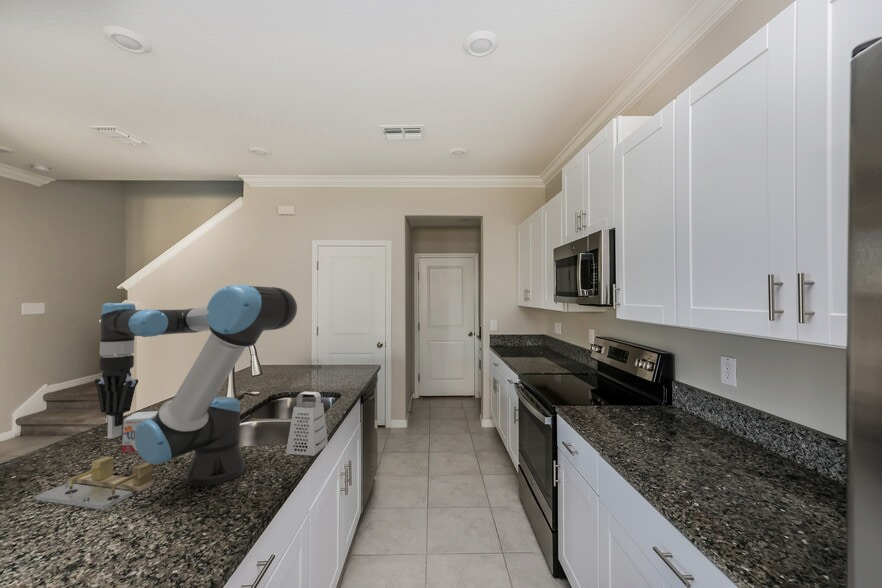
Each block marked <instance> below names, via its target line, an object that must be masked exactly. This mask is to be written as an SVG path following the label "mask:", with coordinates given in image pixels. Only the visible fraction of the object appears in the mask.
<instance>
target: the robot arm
mask: <svg viewBox="0 0 882 588" xmlns="http://www.w3.org/2000/svg"><path fill="white" fill-rule="evenodd" d="M297 311H298V304H297V301H296V299H295V297H294V296H293V295H292V294H291V293H290V292H289V291H287V290H286V289H283V288H281V287H276V286H272V287H271V286H259V285H258V286H254V285H249V284H231V285H226V286H224V287H222V288H219V289H218V290H217V291H216V292H215V293H214V294H213V295H212V296H211V298H210V299H209V300H208V304H207V305H206V306H200V307H194V308H186V309H137V308H136V304H135V303H133V302H132V303H131V302H129V303H128V302H118V303H117V302H106V303H104V304H102V306H101V314H100V333H99V335H100V337H99V338H100V341H99V355H100V358H99V361H98V362H99V363H98V364H99V371H102V374H101V377H100V378H97V379H94V384H95V386H96V389H97V390H96V391H97V396H98V397H97V398H98V403H99V408H100V412H101V413H105V415H106V416H107V417H106V426H107V436H106V437H107V439H109V440H113V439H115V438H118V437H121V436H122V437H123V423H124V414H125V413H127V412H130V411H131V407H132V403H133V400H134V399H133V398H134V394H135V390H136V388H137V385H138V383H139V379H138V378H136V379H134V378H132V373H131V369H132V368H134V365H135V356H134V355H133V354H134V353H135V338H136V337H143V338H146V337H157V336H162V335H163V336H164V335H165V336H166V335H174V334H177V335H178V334H196V333H200V332H201V333H202V332H205V331H206V332H207V331H209V333H211V334H210V335H209V337H208V339H207V340H206V341H205V344H204V345H203V347H202V349H201V351H200V352H199V354H198V356H197V357H196V359H195V361H194V363H193V364H192V366H191V368H190V370H189V371H188V372H187V374H186V376H185V378H184V379H183V382H182V383H181V385H180V386H179V388H178V390H177V392H176V394H175V395H174V397H173V398H172V399H170V400H167V401H166V402H164V403H163V404H162V405H161V406H160V407H159V409H158V413H157V414H156V416H155V417H154V418H152V419H146V420H145V421H143V422H141V423H140V424H139V425H138V426H137V428H136V431H135V443H136V448H137V450H138V455H139V456H140V458H141V459H142V460H143V461H145V462H147V463H150V464H153V465H159V464H161V463H165V462H169V461H171V460H174V459H176V458H179V457H181V456H183V455H186V454H188V453H191V452H194V453H193V454H192V457H191V460H190V464H189V467H188V469H187V470H186V473H185V474H186V477H185V482H186V483H187V484H188V485H190V486H193V487H209V486H211V487H212V486H216V485H220V484H223V483H226V482H227V483H228V482H229V481H232V480H234V479H237V478H238V477H239V476H241V475H242V474H243V473H244V472H245V469H246V467H245V465H246V464H245V463H246V461H245V458H243V454H242V450H241V447H240V426H241V413H242V411H241V402H240V400H239V399H238V398H235V397H230V396H218V394H219V392H220V390H221V389H222V387H223V386H224V384H225V383H226V381H227V380H228V377H229V375H230V374H231V372H232V370H233V369H234V368H235V366H236V364H237V362H238V360H239V359H240V358H241V356H242V354H243V353H244V350H245V349H246V348H250V347H252V346H253V347H254V345H256V343H257V341H258V340H259V338H260V336H261V335H262V333H263V332H264V331H274V330H279V329H284V328H285V327H287V326H289V325H290V324H291V323H292V322H293V320H295V318H296V315H297V313H298V312H297Z"/></svg>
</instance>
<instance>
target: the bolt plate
mask: <svg viewBox="0 0 882 588" xmlns="http://www.w3.org/2000/svg"><path fill="white" fill-rule="evenodd" d="M69 486H70V482H67V483H64V484H62V485H60V486H58V487H55V488H52V489H50V490H47V491H45V492H42V493H39V494H37V495H35V500H36V501H42V502H48V503H55V504H61V505H62V504H63V505H68V506H76V507H82V508H88V509H89V508H90V509H96V510H102V511H103V510H105V509H108V508H110V507H112V506H114V505H116V504H118V503H119V502H122V501H123V500H126V499H128V498H130V497H131V496H133V492H132V490H125V489H117V488H115V494H114V495H112V488H110V487H102V486H95V485H88V484H80V483H73V488H72V489H69Z"/></svg>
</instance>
